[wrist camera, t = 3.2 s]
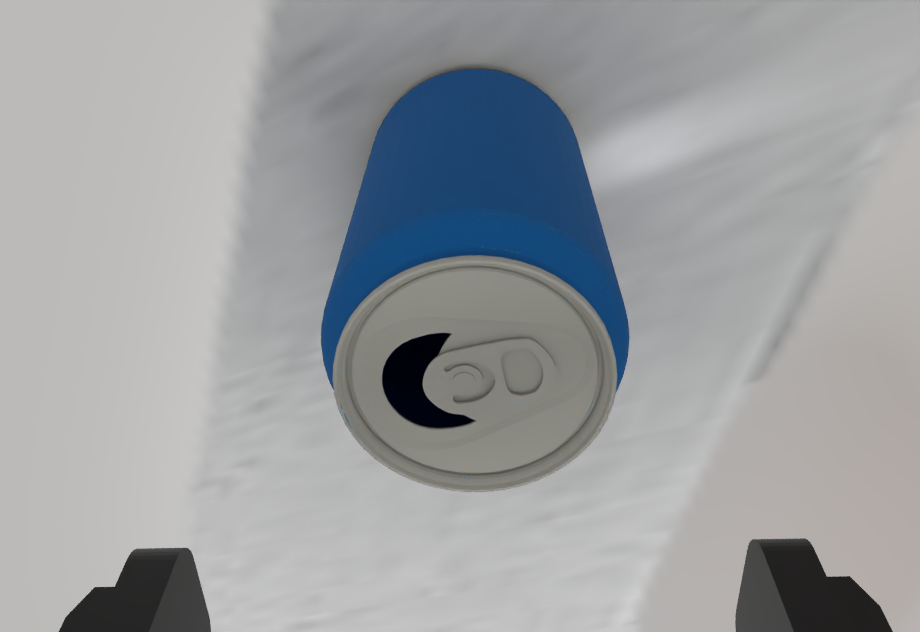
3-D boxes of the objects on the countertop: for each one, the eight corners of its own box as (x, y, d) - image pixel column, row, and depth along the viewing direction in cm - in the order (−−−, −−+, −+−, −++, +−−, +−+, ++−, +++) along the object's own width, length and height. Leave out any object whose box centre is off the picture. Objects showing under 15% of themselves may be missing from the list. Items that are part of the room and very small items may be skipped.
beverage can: (347, 87, 26) (264, 276, 16) (559, 39, 26) (615, 204, 15) (402, 273, 30) (363, 529, 19) (593, 235, 29) (657, 481, 19)
